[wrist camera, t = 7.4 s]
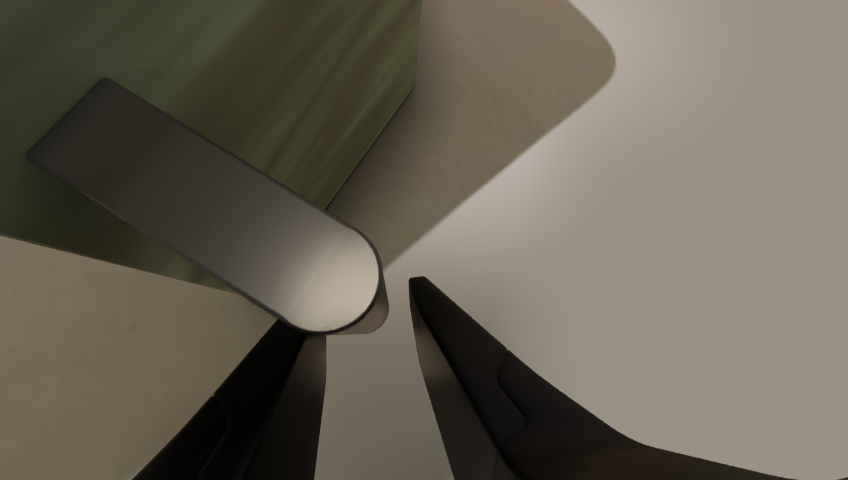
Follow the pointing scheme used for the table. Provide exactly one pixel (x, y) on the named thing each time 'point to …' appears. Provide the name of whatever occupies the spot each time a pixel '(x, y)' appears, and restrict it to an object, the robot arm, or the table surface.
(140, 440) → the table surface
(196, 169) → the door
